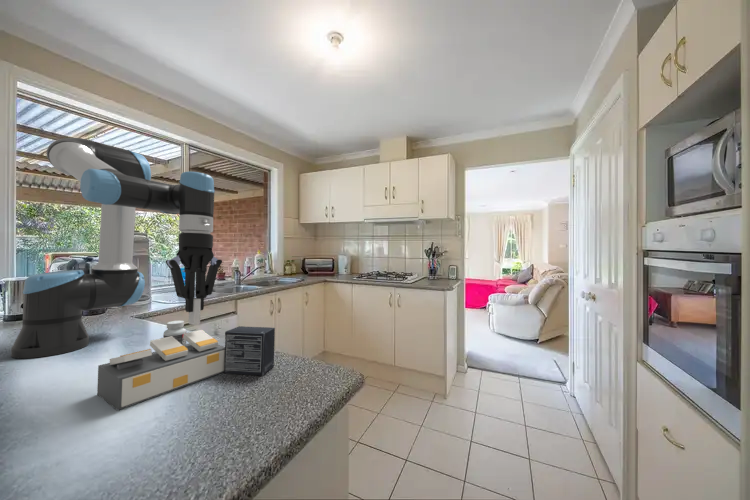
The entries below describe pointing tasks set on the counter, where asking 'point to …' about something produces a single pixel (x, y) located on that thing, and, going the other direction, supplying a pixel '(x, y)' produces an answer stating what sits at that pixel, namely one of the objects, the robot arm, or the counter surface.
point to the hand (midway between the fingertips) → (194, 323)
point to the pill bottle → (176, 331)
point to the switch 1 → (131, 356)
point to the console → (156, 375)
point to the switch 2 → (168, 348)
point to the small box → (249, 350)
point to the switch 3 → (200, 340)
